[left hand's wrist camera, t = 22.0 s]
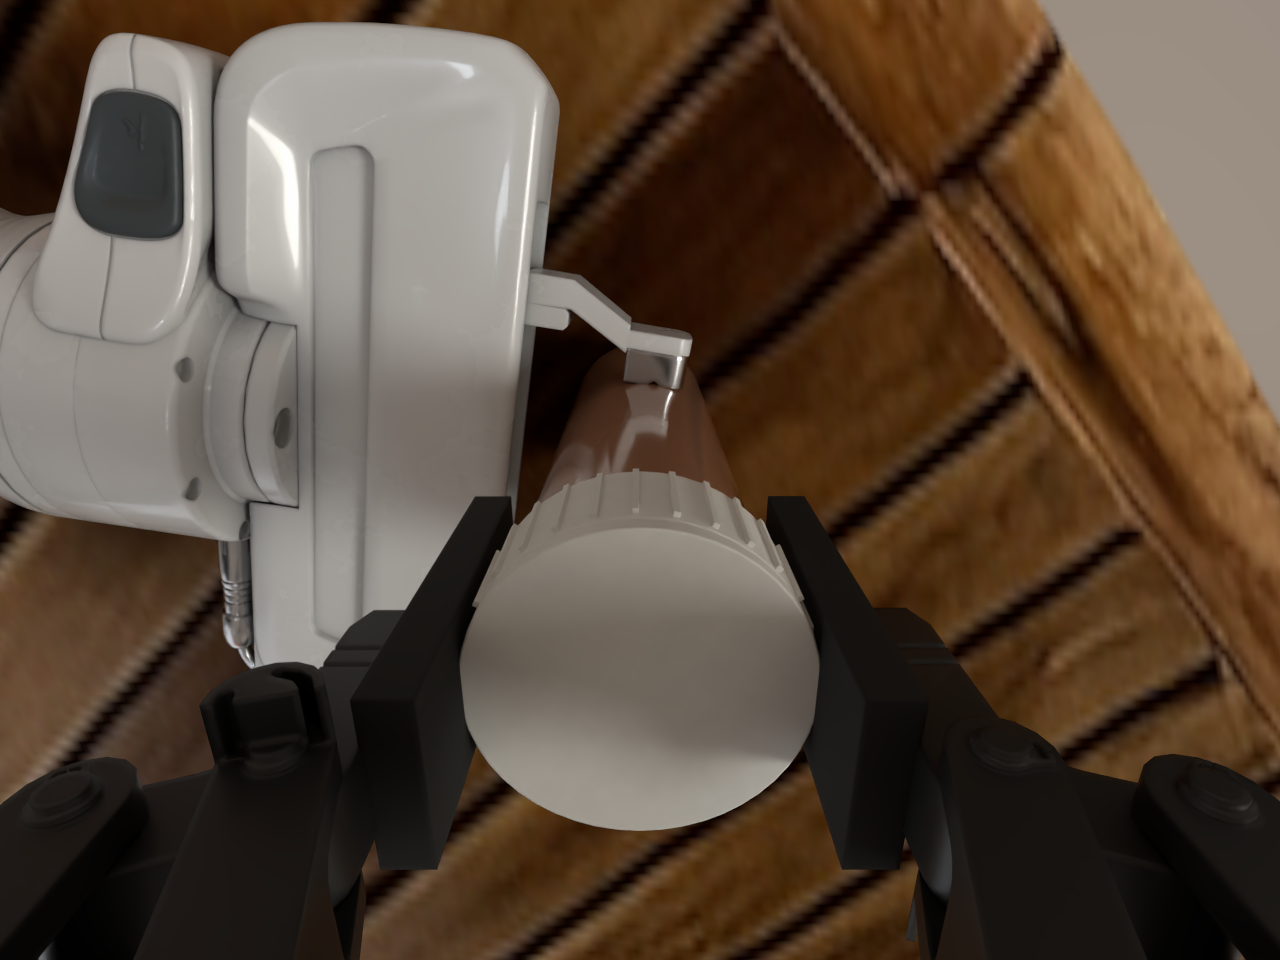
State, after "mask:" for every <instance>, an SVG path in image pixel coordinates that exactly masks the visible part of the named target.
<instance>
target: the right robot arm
mask: <svg viewBox="0 0 1280 960" xmlns="http://www.w3.org/2000/svg"><path fill="white" fill-rule="evenodd" d="M559 114H560V108H559V101H558V98H557V96H556V94H555V92H554V90H553V88H552V86H551V84H550V83H549V81H548V79H547V78H546V76H545V75H544V73H543V72H542V71H541V69H540V68H539V67H538V65H537V64H536V63H535V62H534V61H533V60H532V59H531V57H530V56H529V55H528V54H527V53H526V52H525V51H524V50H522V49H521V48H520V47H518V46H517V45H515V44H513V43H511V42H509V41H506V40H503V39H500V38H496V37H491V36H486V35H481V34H476V33H471V32H463V31H456V30H448V29H441V28H432V27H422V26H412V25H400V24H384V23H363V22H308V23H294V24H288V25H282V26H278V27H275V28H271V29H268V30H266V31H263V32H261V33H258V34H257V35H255V36H253V37H251V38H250V39H248V40H247V41H245V42H244V43H243V44H242V45H241V46H240V47H239V48H238V49H237V50H235V52H234V53H233V54H232V56H231V57H229V56H226V55H224V54H221V53H218V52H215V51H212V50H209V49H206V48H202V47H198V46H195V45H191V44H187V43H184V42H179V41H175V40H170V39H165V38H160V37H154V36H147V35H141V34H134V33H117V34H112V35H109V36H108V37H106V38H105V39H103V40H102V41H101V43H100V44H99V45H98V47H97V49H96V50H95V52H94V54H93V57H92V60H91V63H90V66H89V70H88V75H87V79H86V84H85V89H84V94H83V99H82V104H81V109H80V114H79V119H78V124H77V129H76V133H75V138H74V143H73V147H72V151H71V156H70V160H69V164H68V168H67V173H66V176H65V180H64V184H63V188H62V191H61V195H60V199H59V202H58V205H57V208H56V212H54V213H48V214H41V215H34V216H22V215H17V214H14V213H11V212H9V211H7V210H5V209H3V208H1V207H0V497H2V498H4V499H6V500H8V501H11V502H13V503H15V504H17V505H20V506H22V507H25V508H27V509H30V510H34V511H37V512H41V513H44V514H48V515H52V516H57V517H65V518H72V519H79V520H85V521H92V522H99V523H106V524H112V525H119V526H126V527H133V528H140V529H147V530H153V531H160V532H167V533H174V534H181V535H187V536H194V537H201V538H208V539H215V540H217V551H218V567H219V574H220V578H221V583H222V588H223V594H224V608H223V610H222V631H223V635H224V638H225V641H226V643H227V645H228V646H230V647H231V648H236V649H238V651H239V654H240V656H241V657H242V659H243V660H244V662H245V663H246V664H247V665H248V667H249V668H251V669H252V668H256V667H260V666H264V665H268V664H272V663H278V662H301V663H305V664H309V665H314V666H315V667H316V668H317V669H319V668H320V667H323V662H324V661H325V659H326V658H327V657H328V655H329V654H330V653H331V651H332V650H335V646H336V644H337V643H338V642H339V640H340V639H341V638H342V636H343V635H344V633H345V632H346V631H347V629H348V628H349V627H350V626H351V625H353V624H354V623H356V622H357V621H358V620H360V619H361V618H363V617H364V616H366V615H367V614H369V613H370V612H372V611H373V610H406V608H407V606H408V605H409V603H410V601H411V600H412V598H413V597H414V595H415V593H416V592H417V590H418V588H419V587H420V585H421V583H422V582H423V580H424V579H425V577H426V575H427V574H428V572H429V570H430V569H431V567H432V566H433V564H434V562H435V561H436V559H437V557H438V556H439V554H440V553H441V551H442V549H443V548H444V546H445V544H446V543H447V541H448V540H449V538H450V536H451V535H452V533H453V531H454V530H455V528H456V527H457V525H458V523H459V522H460V520H461V518H462V517H463V515H464V514H465V512H466V510H467V509H468V507H469V505H470V504H471V502H472V501H473V499H474V497H475V496H511V500H512V514H513V525H514V524H515V515H516V505H517V496H518V487H519V478H520V469H521V460H522V451H523V442H524V433H525V424H526V415H527V405H528V396H529V387H530V378H531V369H532V360H533V351H534V342H535V333H536V326H538V327H545V328H551V329H558V330H564V329H565V328H566V327H567V326H568V325H569V324H570V322H571V321H572V320H573V318H574V314H575V313H576V314H577V315H578V316H580V317H581V318H582V319H583V320H585V321H586V322H587V323H588V324H590V325H591V326H592V327H594V328H595V329H596V330H597V331H599V332H600V333H601V334H602V335H604V336H605V337H606V338H607V339H609V340H610V341H611V342H612V343H614V344H615V345H616V346H618V347H619V348H620V349H621V350H623V351H624V352H625V353H626V351H627V354H626V362H625V369H624V377H623V381H626V382H632V383H637V384H649V383H651V382H653V381H655V382H656V383H657V384H658V385H659V386H661V387H664V388H668V389H683V384H684V379H685V374H686V370H687V365H688V360H689V354H690V349H691V344H692V337H691V335H690V334H689V333H686V332H683V331H680V330H675V329H669V328H663V327H657V326H651V325H646V324H640V323H634V322H631V317H630V316H629V315H627V314H626V313H625V312H624V311H623V310H622V309H620V308H619V307H618V306H617V305H616V304H614V303H613V302H612V301H611V300H610V299H608V298H607V297H606V296H605V295H604V294H602V293H601V292H600V291H599V290H598V289H596V288H595V287H594V286H593V285H592V284H590V283H589V282H588V281H587V280H586V279H584V278H583V277H582V276H581V275H577V274H572V273H566V272H560V271H554V270H548V269H543V260H544V251H545V242H546V233H547V224H548V215H549V206H550V197H551V187H552V178H553V169H554V160H555V151H556V142H557V132H558V123H559ZM253 644H254V651H253V649H252V647H251V646H252V645H253Z"/></svg>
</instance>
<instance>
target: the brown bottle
mask: <svg viewBox="0 0 1280 960" xmlns="http://www.w3.org/2000/svg"><path fill="white" fill-rule="evenodd" d="M626 354H627V351H626V353H625V352H624V351H623V350H621V349H620V348H619V347H618V348H616V349H613V350H611V351H609V352H608V353H606V354H604V355H603V356H602V357H600V358H599V359H598V360H597V361H596V362H595V363H594V364H593V365H592V366H591V368H590V369H589V370H588V372H587V373H586V375H585V377H584V379H583V381H582V384H581V386H580V389H579V392H578V394H577V397H576V400H575V402H574V405H573V408H572V410H571V413H570V415H569V418H568V421H567V423H566V426H565V429H564V431H563V434H562V437H561V439H560V442H559V445H558V447H557V450H556V453H555V455H554V458H553V460H552V463H551V466H550V468H549V471H548V474H547V476H546V479H545V482H544V484H543V487H542V490H541V492H540V495H539V498H538V500H537V502H538V501H540V502H541V503H542V502H544V501H545V500H547V499H549V498H550V497H552V496H553V495H555V494H557V493H558V492H560V491H562V489H563V486H564V485H566V484H568V483H569V484H570V486H572V485H575V484H577V483H579V482H582V481H585V480H589V479H592V478H595V477H597V473H602V472H603V474H604V475H609V474H614V473H620V472H633V469H635V468H639V471H643V472H657V473H666V474H669V471H673V472H675V474H676V476H681V477H685V478H688V479H691V480H694V481H697V482H700V483H703V481H706V482H709V484H710V487H711V488H713V489H715V490H717V491H720V492H722V493H723V494H725V495H726V496H728V497H729V498H731V499H733V498H734V497H736V498H738V499H739V500H740V503H741V506H742V507H743V508H744V505H743V502H742V500H741V497H740V494H739V492H738V489H737V486H736V484H735V481H734V478H733V476H732V473H731V471H730V468H729V465H728V463H727V460H726V457H725V455H724V452H723V449H722V447H721V444H720V441H719V439H718V436H717V433H716V431H715V428H714V425H713V423H712V420H711V418H710V415H709V412H708V410H707V407H706V404H705V402H704V399H703V396H702V394H701V391H700V388H699V386H698V383H697V380H696V378H695V377H694V375H693V373H692V371H691V370H690V369H689V367H688V366H687V370H686V374H685V379H684V384H683V389H668V388H664V387H661V386H659V385H658V384H657V383H656V382H655V381H653V382H651V383H649V384H637V383H632V382H626V381H623V377H624V369H625V362H626ZM744 509H745V508H744Z"/></svg>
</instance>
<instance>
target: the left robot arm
mask: <svg viewBox="0 0 1280 960" xmlns="http://www.w3.org/2000/svg"><path fill="white" fill-rule="evenodd" d="M512 526H513V514H512V500H511V496H475V497H474V499H473V501H472V502H471V504H470V505H469V507H468V509H467V510H466V512H465V514H464V515H463V517H462V518H461V520H460V522H459V523H458V525H457V527H456V528H455V530H454V531H453V533H452V535H451V536H450V538H449V540H448V541H447V543H446V544H445V546H444V548H443V549H442V551H441V553H440V554H439V556H438V557H437V559H436V561H435V562H434V564H433V566H432V567H431V569H430V570H429V572H428V574H427V575H426V577H425V579H424V580H423V582H422V583H421V585H420V587H419V588H418V590H417V592H416V593H415V595H414V597H413V598H412V600H411V601H410V603H409V605H408V606H407V608H406V610H373V611H372V612H370V613H369V614H367V615H366V616H364V617H363V618H361V619H360V620H358V621H357V622H356V623H354V624H353V625H351V626H350V627H349V628H348V629H347V631H346V632H345V633H344V635H343V636H342V638H341V639H340V640H339V642H338V643H337V644H336V646H335V650H332V651H331V653H330V654H329V655H328V657H327V658H326V659H325V661H324V662H323V667H320V668H319V669H317V668H316V667H315V666H314V665H309V664H305V663H301V662H278V663H272V664H268V665H264V666H260V667H256V668H252V669H250V670H247V671H245V672H243V673H240V674H238V675H236V676H234V677H231V678H229V679H228V680H226V681H225V682H224V683H222V684H221V685H219V686H218V687H216V688H215V689H213V690H212V691H211V692H210V693H209V694H208V696H207V697H206V698H205V699H204V700H203V702H202V703H201V704H200V705H199V706H200V710H201V713H202V717H203V721H204V724H205V728H206V732H207V735H208V739H209V743H210V746H211V750H212V754H213V757H214V761H215V765H214V767H213V769H211V770H208V771H204V772H201V773H197V774H193V775H189V776H184V777H180V778H175V779H171V780H166V781H162V782H158V783H153V784H149V785H144V786H142V784H141V781H140V778H139V775H138V772H137V769H136V768H135V767H134V766H133V765H132V764H131V763H129V762H128V761H127V760H125V759H118V758H110V757H104V758H97V759H90V760H83V761H80V762H77V763H74V764H70V765H68V766H64V767H61V768H59V769H56V770H54V771H52V772H50V773H48V774H46V775H44V776H42V777H40V778H38V779H36V780H35V781H33V782H31V783H29V784H27V785H25V786H24V787H23V788H22V789H20V790H19V791H18V792H16V793H15V794H14V795H12V796H11V797H10V798H8V799H7V800H6V801H4V802H3V803H2V804H1V805H0V960H38V958H39V960H360V951H361V941H362V932H363V923H364V913H365V904H366V893H365V885H364V879H363V874H362V867H363V865H364V862H365V860H366V858H367V855H368V853H369V851H370V848H371V846H372V844H373V841H374V839H375V843H376V849H377V855H378V860H379V866H380V870H437V869H438V865H439V862H440V859H441V856H442V853H443V850H444V846H445V843H446V840H447V837H448V834H449V831H450V827H451V824H452V821H453V818H454V815H455V812H456V808H457V805H458V802H459V799H460V796H461V793H462V789H463V786H464V783H465V780H466V777H467V774H468V770H469V767H470V764H471V761H472V758H473V755H474V751H475V748H476V744H475V742H474V740H473V738H472V736H471V734H470V732H469V730H468V727H467V724H466V720H465V712H464V703H463V694H462V685H461V676H460V664H459V662H460V652H461V648H462V645H463V642H464V638H465V635H466V632H467V629H468V627H469V625H470V622H471V620H472V618H473V615H474V613H475V611H476V607H473V606H472V604H473V602H474V600H475V597H476V595H477V593H478V591H479V588H480V586H481V584H482V582H483V580H484V577H485V575H486V573H487V571H488V568H489V566H490V564H491V562H492V559H493V557H494V555H495V553H496V551H497V550H499V551H501V550H502V548H503V545H504V543H505V541H506V538H507V536H508V534H509V531H510V529H511V527H512ZM766 528H767V531H768V533H769V535H770V538H771V540H772V541H773V543H774V545H775V546H777V545H779V544H780V546H781V548H782V550H783V552H784V555H785V557H786V559H787V561H788V564H789V566H790V568H791V570H792V572H793V575H794V577H795V579H796V581H797V584H798V586H799V588H800V590H801V593H802V595H803V597H804V600H803V603H804V605H805V607H806V610H807V612H808V614H809V617H810V619H811V621H812V623H813V626H814V629H813V633H814V637H815V640H816V644H817V648H818V651H819V656H820V667H819V678H818V687H817V696H816V705H815V715H814V722H813V725H812V728H811V730H810V733H809V735H808V737H807V739H806V740H805V742H804V744H803V747H804V750H805V753H806V757H807V760H808V763H809V766H810V769H811V772H812V776H813V779H814V782H815V785H816V788H817V792H818V795H819V798H820V801H821V804H822V807H823V811H824V814H825V817H826V820H827V823H828V826H829V830H830V833H831V836H832V839H833V842H834V845H835V849H836V852H837V855H838V858H839V861H840V864H841V868H842V870H899V867H900V862H901V856H902V851H903V845H904V840H905V837H906V840H907V842H908V844H909V847H910V849H911V851H912V853H913V856H914V858H915V860H916V863H917V865H918V867H919V869H918V874H917V879H916V885H915V890H914V895H913V900H912V905H911V910H910V916H909V921H908V927H907V934H906V940H909V941H913V942H915V939H916V934H917V930H918V940H919V949H920V958H921V960H1240V958H1241V956H1243V957H1244V958H1245V959H1246V960H1280V801H1279V800H1277V799H1276V798H1275V797H1274V796H1272V795H1271V794H1270V793H1268V792H1267V791H1266V790H1264V789H1263V788H1262V787H1260V786H1259V785H1258V784H1256V783H1255V782H1254V781H1252V780H1250V779H1248V778H1246V777H1244V776H1242V775H1240V774H1238V773H1236V772H1235V771H1233V770H1231V769H1229V768H1227V767H1225V766H1222V765H1219V764H1217V763H1213V762H1211V761H1207V760H1204V759H1201V758H1198V757H1191V756H1184V755H1177V754H1169V755H1162V756H1154V757H1153V758H1152V759H1151V760H1149V761H1148V762H1147V763H1146V764H1144V766H1143V769H1142V772H1141V775H1140V778H1139V781H1138V783H1135V782H1131V781H1127V780H1122V779H1118V778H1113V777H1109V776H1104V775H1100V774H1095V773H1091V772H1086V771H1082V770H1079V769H1075V768H1072V767H1068V766H1066V764H1065V762H1064V760H1063V759H1062V757H1061V756H1060V755H1059V753H1058V752H1057V750H1056V749H1055V747H1054V746H1052V745H1051V744H1050V743H1049V742H1047V741H1046V740H1045V739H1044V738H1042V737H1041V736H1040V735H1039V734H1037V733H1036V732H1034V731H1032V730H1030V729H1028V728H1026V727H1024V726H1022V725H1020V724H1018V723H1016V722H1013V721H1009V720H1005V719H1002V718H999V717H998V716H997V715H996V713H995V712H994V711H993V709H992V708H991V707H990V705H989V704H988V702H987V701H986V700H985V698H984V697H983V696H982V694H981V693H980V692H979V690H978V689H977V687H976V686H975V685H974V683H973V682H972V681H971V679H970V678H969V677H968V675H967V674H966V672H965V671H964V670H963V668H962V667H961V666H960V664H957V663H956V659H955V658H954V656H953V655H952V653H951V652H950V651H949V649H948V648H945V646H944V645H945V644H944V643H943V641H942V640H941V638H940V637H939V636H938V634H937V633H936V632H935V630H934V629H933V628H932V626H931V625H930V624H929V623H927V622H926V621H924V620H923V619H921V618H920V617H919V616H917V615H916V614H914V613H913V612H911V611H910V610H908V609H907V608H873V607H872V606H871V604H870V603H869V601H868V599H867V598H866V596H865V594H864V593H863V591H862V590H861V588H860V586H859V585H858V583H857V581H856V580H855V578H854V577H853V575H852V573H851V572H850V570H849V568H848V567H847V565H846V563H845V562H844V560H843V559H842V557H841V555H840V554H839V552H838V550H837V549H836V547H835V546H834V544H833V542H832V541H831V539H830V537H829V536H828V534H827V533H826V531H825V529H824V528H823V526H822V524H821V523H820V521H819V520H818V518H817V516H816V515H815V513H814V511H813V510H812V508H811V507H810V505H809V503H808V502H807V500H806V498H805V497H804V496H768V505H767V519H766Z"/></svg>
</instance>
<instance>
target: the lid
mask: <svg viewBox="0 0 1280 960" xmlns="http://www.w3.org/2000/svg"><path fill="white" fill-rule="evenodd" d="M803 600H804V597H803V595H802V593H801V590H800V588H799V586H798V584H797V581H796V579H795V577H794V575H793V572H792V570H791V568H790V566H789V564H788V561H787V559H786V557H785V555H784V552H783V550H782V548H781V546H780V544H779V545H777V546H775V545H774V543H773V541H772V540H771V538H770V535H769V533H768V531H767V528H766V526H765V524H764V522H763V521H762V520H761V519H759V520H758V521H757V520H756V519H755V518H754V517H753V516H752V515H751V514H750V513H749V512H748V511H746V510H745V509H744V508H743V507H742V506H741V503H740V500H739V499H738V498H736V497H734V498H733V499H731V498H729V497H728V496H726V495H725V494H723V493H722V492H720V491H717V490H715V489H713V488H711V487H710V484H709V482H706V481H703V483H700V482H697V481H694V480H691V479H688V478H685V477H681V476H676V474H675V472H673V471H669V474H666V473H657V472H643V471H639V468H635V469H633V472H620V473H614V474H609V475H604V474H603V472H602V473H597V477H595V478H592V479H589V480H585V481H582V482H579V483H577V484H575V485H572V486H570V484H569V483H568V484H566V485H564V486H563V489H562V491H560V492H558V493H557V494H555V495H553V496H552V497H550V498H549V499H547V500H545V501H544V502H542V503H541V502H540V501H538V502H536V503H535V504H534V507H533V509H532V512H530V513H529V514H528V515H527V516H526V517H525V519H524V520H523V521H522V522H521V523H520V524H519V525H516V524H514V525H513V526H512V527H511V529H510V531H509V534H508V536H507V538H506V541H505V543H504V545H503V548H502V550H501V551H499V550H497V551H496V553H495V555H494V557H493V559H492V562H491V564H490V566H489V568H488V571H487V573H486V575H485V577H484V580H483V582H482V584H481V586H480V588H479V591H478V593H477V595H476V597H475V600H474V602H473V604H472V606H473V607H476V611H475V613H474V615H473V618H472V620H471V622H470V625H469V627H468V629H467V632H466V635H465V638H464V642H463V645H462V648H461V652H460V662H459V664H460V676H461V685H462V694H463V703H464V712H465V720H466V724H467V727H468V730H469V732H470V734H471V736H472V738H473V740H474V742H475V744H476V746H477V748H478V749H479V750H480V752H481V753H482V755H483V756H484V758H485V759H486V760H487V762H488V763H489V764H490V766H491V767H492V768H493V769H494V770H495V771H496V772H497V773H498V774H499V775H500V776H501V777H502V779H504V780H505V781H506V782H507V783H508V784H510V785H511V786H512V787H513V788H514V789H515V790H517V791H518V792H519V793H521V794H522V795H524V796H525V797H527V798H528V799H530V800H531V801H533V802H534V803H536V804H538V805H540V806H542V807H544V808H546V809H548V810H550V811H552V812H554V813H556V814H559V815H561V816H564V817H566V818H569V819H572V820H574V821H578V822H582V823H586V824H589V825H593V826H598V827H605V828H611V829H619V830H636V831H641V830H661V829H668V828H675V827H682V826H686V825H690V824H694V823H698V822H702V821H705V820H707V819H710V818H713V817H716V816H718V815H721V814H723V813H725V812H728V811H730V810H732V809H734V808H736V807H738V806H740V805H742V804H743V803H745V802H746V801H748V800H749V799H751V798H753V797H754V796H756V795H757V794H759V793H760V792H761V791H763V790H764V789H765V788H766V787H767V786H769V785H770V784H771V783H772V782H774V781H775V780H776V779H777V778H778V777H779V776H780V774H781V773H782V772H783V771H784V770H785V769H786V768H787V767H788V766H789V765H790V763H791V762H792V761H793V759H794V758H795V757H796V755H797V754H798V752H799V751H800V750H801V748H802V746H803V744H804V742H805V740H806V739H807V737H808V735H809V733H810V730H811V728H812V725H813V722H814V715H815V705H816V696H817V687H818V678H819V667H820V656H819V651H818V648H817V644H816V640H815V637H814V633H813V629H814V626H813V623H812V621H811V619H810V617H809V614H808V612H807V610H806V607H805V605H804V603H803Z"/></svg>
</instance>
